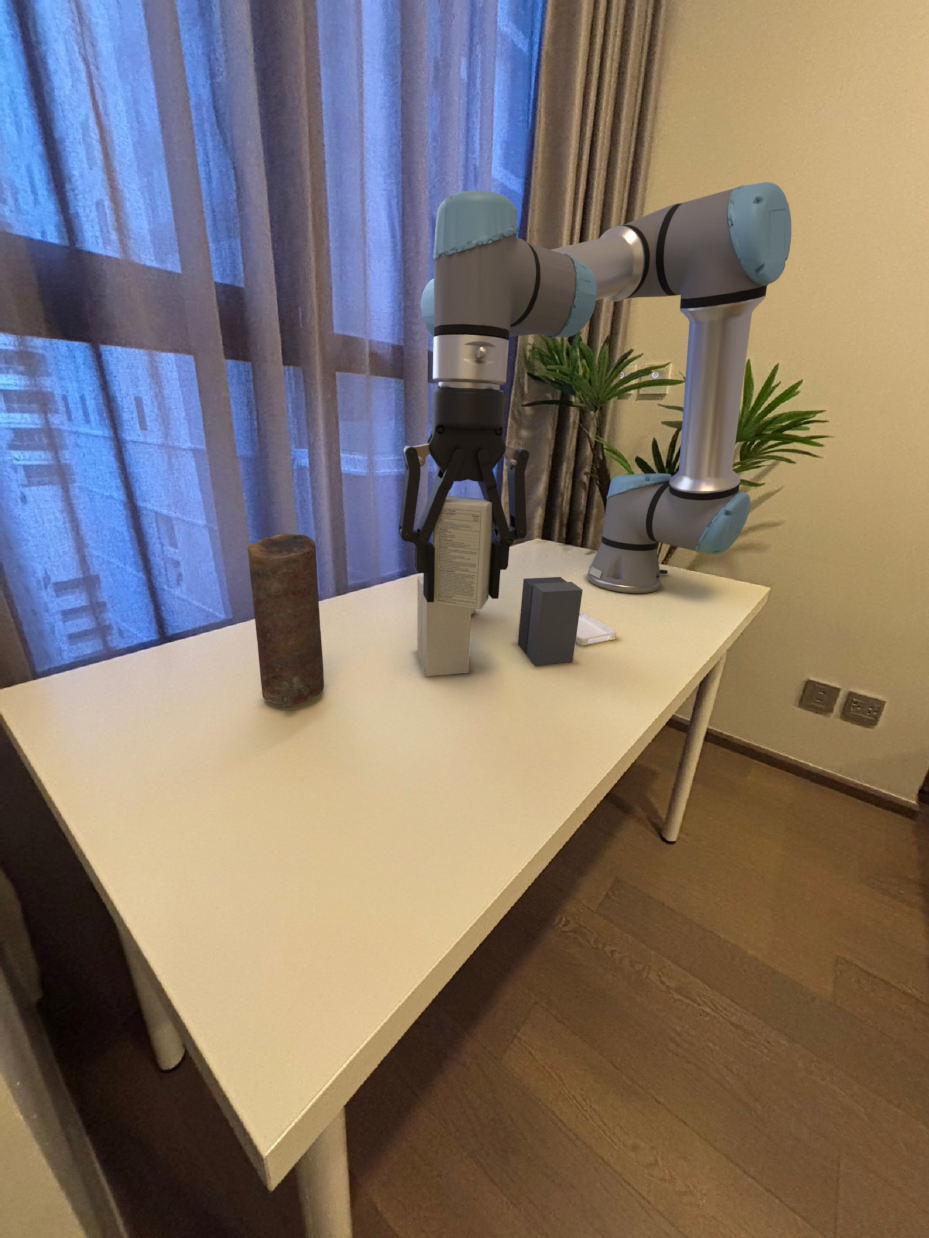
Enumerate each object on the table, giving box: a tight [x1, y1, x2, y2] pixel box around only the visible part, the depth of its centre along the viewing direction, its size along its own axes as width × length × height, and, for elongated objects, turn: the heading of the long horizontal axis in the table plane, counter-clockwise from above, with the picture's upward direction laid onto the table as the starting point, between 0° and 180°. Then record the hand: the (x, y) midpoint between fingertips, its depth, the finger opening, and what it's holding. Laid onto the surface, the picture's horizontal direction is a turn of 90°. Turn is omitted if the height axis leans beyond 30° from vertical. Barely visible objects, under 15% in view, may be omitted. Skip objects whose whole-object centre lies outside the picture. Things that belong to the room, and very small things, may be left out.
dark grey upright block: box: [517, 576, 584, 667], centre depth 75 cm, size 6×7×12 cm
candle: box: [246, 533, 325, 708], centre depth 59 cm, size 8×7×20 cm
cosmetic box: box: [432, 495, 494, 610], centre depth 58 cm, size 6×4×12 cm
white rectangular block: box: [416, 576, 472, 677], centre depth 71 cm, size 6×7×12 cm
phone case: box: [575, 610, 617, 646], centre depth 87 cm, size 7×1×15 cm
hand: (460, 596), depth 61 cm, fingers closed on cosmetic box, 7 cm apart
